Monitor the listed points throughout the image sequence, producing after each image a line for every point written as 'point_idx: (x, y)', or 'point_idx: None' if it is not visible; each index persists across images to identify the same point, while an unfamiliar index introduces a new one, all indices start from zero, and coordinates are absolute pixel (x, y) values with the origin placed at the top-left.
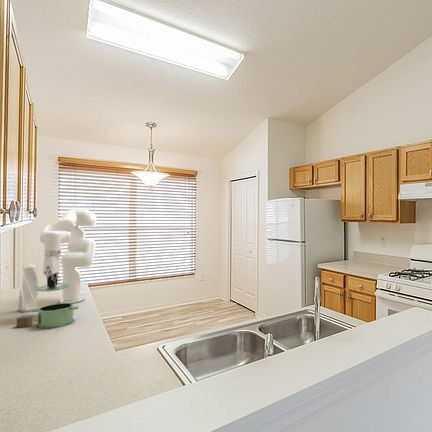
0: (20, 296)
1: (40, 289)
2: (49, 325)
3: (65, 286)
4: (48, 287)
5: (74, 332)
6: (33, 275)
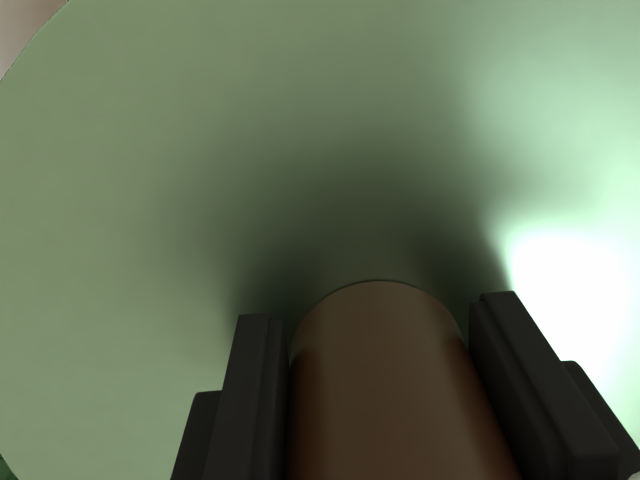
0: None
1: (24, 219)
2: None
3: None
4: (312, 293)
5: None
6: None
